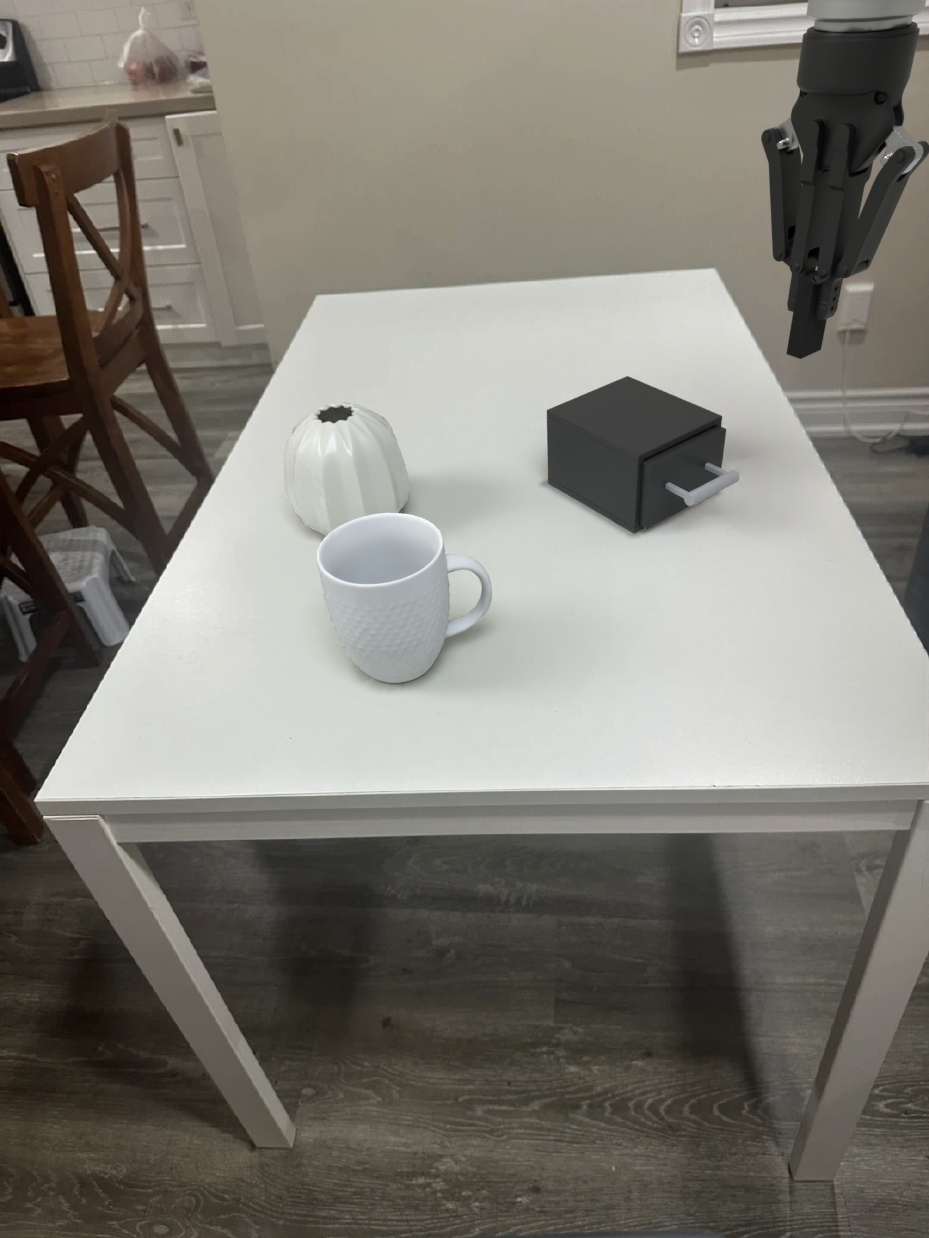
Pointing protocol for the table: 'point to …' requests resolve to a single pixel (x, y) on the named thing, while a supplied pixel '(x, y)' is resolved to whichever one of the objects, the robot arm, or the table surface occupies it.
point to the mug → (393, 593)
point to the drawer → (683, 476)
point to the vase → (343, 467)
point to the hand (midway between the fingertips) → (803, 351)
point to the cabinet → (616, 443)
